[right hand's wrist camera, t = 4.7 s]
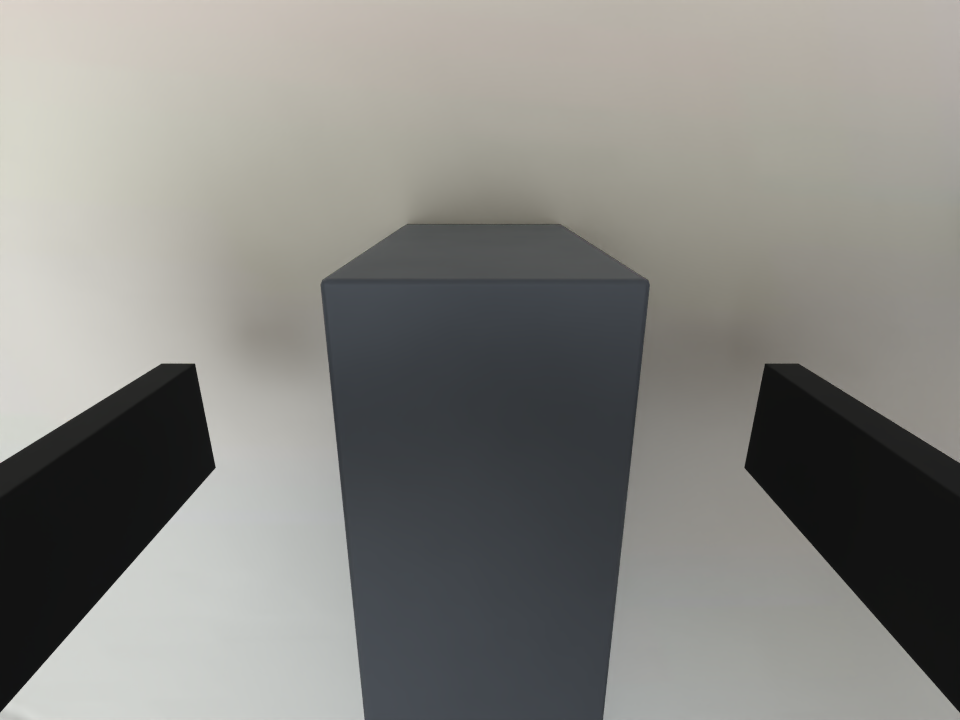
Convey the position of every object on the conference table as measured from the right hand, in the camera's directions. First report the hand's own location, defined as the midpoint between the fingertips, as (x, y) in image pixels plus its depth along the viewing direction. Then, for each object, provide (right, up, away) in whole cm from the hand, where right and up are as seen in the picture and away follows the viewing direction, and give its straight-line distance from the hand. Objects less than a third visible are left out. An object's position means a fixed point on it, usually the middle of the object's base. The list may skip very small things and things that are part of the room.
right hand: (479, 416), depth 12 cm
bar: (0, -32, +16) cm, 36 cm away
